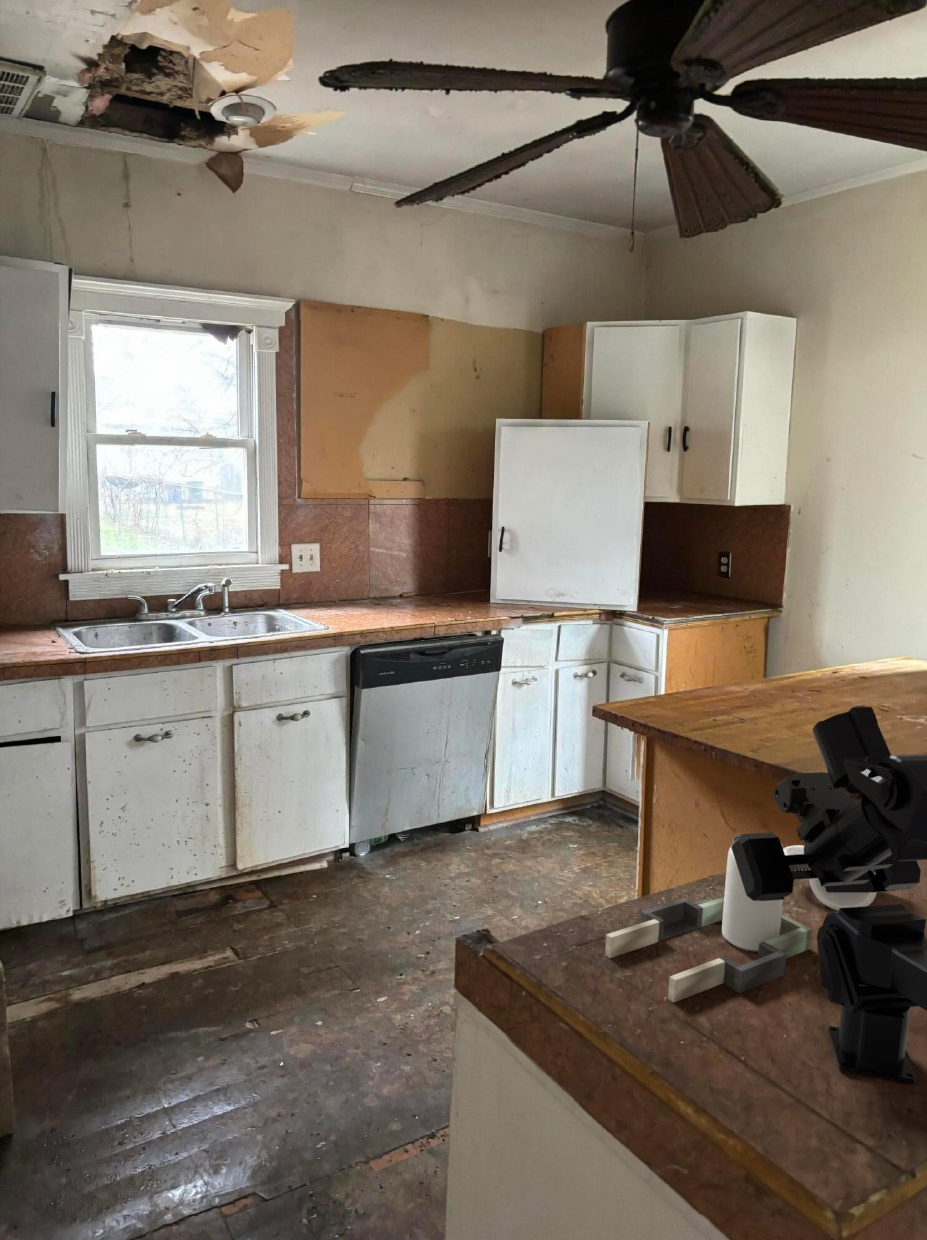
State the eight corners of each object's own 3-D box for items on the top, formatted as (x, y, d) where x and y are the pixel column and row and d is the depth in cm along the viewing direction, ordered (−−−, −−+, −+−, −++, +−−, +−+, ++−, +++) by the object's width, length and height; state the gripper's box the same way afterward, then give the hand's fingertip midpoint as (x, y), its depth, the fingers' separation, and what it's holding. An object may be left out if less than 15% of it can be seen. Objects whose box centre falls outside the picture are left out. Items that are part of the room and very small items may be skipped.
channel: (689, 1014, 89) (691, 991, 88) (592, 946, 101) (593, 926, 101) (826, 958, 100) (828, 937, 100) (723, 903, 113) (725, 885, 113)
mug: (876, 888, 119) (882, 832, 118) (874, 919, 110) (880, 859, 109) (783, 868, 124) (788, 814, 123) (773, 897, 115) (778, 839, 114)
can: (787, 939, 104) (796, 843, 103) (765, 960, 100) (774, 859, 98) (735, 920, 109) (742, 827, 107) (711, 939, 104) (719, 842, 102)
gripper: (914, 753, 90) (837, 817, 103) (748, 759, 86) (689, 825, 99) (963, 858, 84) (875, 912, 96) (787, 870, 80) (718, 925, 92)
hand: (788, 890), depth 96 cm, fingers open, 9 cm apart
